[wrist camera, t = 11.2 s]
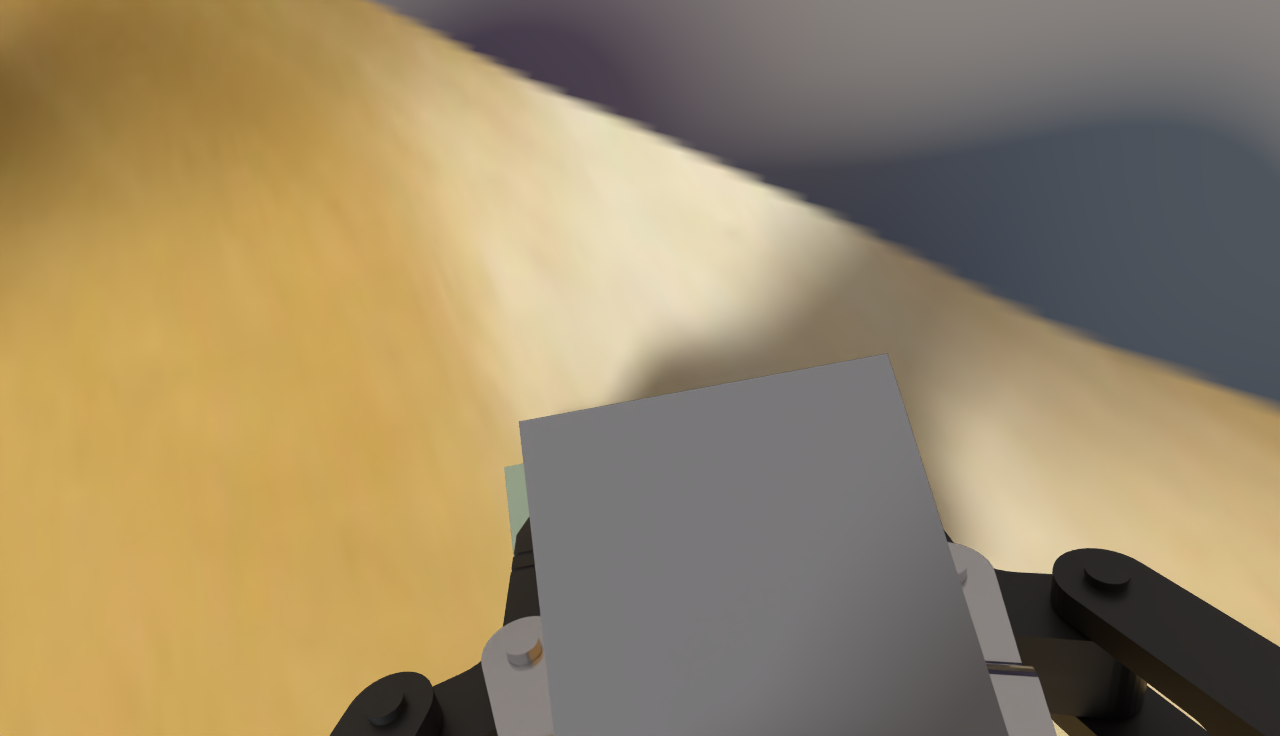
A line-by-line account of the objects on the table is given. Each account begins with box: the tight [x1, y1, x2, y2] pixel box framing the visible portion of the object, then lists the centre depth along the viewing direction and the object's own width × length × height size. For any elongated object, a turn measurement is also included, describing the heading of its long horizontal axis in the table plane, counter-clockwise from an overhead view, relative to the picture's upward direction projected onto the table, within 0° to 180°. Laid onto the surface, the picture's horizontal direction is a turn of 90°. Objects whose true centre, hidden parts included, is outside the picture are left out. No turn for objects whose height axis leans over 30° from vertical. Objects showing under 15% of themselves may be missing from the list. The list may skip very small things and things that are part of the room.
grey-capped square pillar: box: [519, 353, 1009, 736], centre depth 13 cm, size 4×4×11 cm
